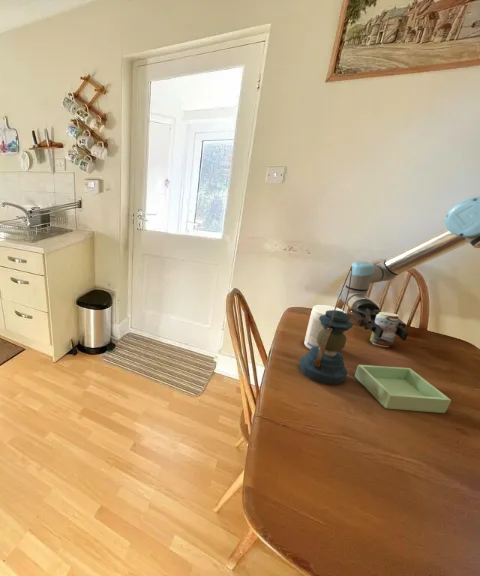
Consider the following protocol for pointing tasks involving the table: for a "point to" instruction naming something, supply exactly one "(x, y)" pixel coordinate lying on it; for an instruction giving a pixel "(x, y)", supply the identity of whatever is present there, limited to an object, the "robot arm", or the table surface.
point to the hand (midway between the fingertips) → (393, 335)
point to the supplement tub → (316, 324)
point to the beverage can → (385, 329)
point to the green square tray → (401, 389)
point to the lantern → (328, 347)
